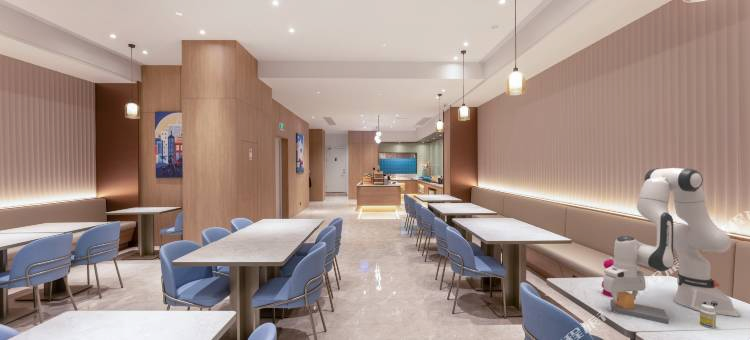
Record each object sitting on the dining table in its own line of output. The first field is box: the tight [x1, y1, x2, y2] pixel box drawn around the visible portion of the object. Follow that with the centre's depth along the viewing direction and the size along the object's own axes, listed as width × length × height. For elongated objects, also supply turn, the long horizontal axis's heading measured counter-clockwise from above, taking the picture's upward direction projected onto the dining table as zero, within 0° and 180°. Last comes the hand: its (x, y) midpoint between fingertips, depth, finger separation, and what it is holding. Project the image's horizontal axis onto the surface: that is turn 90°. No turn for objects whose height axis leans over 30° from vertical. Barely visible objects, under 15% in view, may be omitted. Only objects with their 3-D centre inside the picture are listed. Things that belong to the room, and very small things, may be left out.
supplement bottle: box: [699, 304, 717, 329], centre depth 139 cm, size 5×5×8 cm
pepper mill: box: [601, 256, 614, 298], centre depth 172 cm, size 7×7×20 cm
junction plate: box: [610, 298, 670, 325], centre depth 151 cm, size 20×12×7 cm, turn 55°
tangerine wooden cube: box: [615, 291, 635, 308], centre depth 153 cm, size 5×5×6 cm
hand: (624, 300), depth 153 cm, fingers open, 8 cm apart
